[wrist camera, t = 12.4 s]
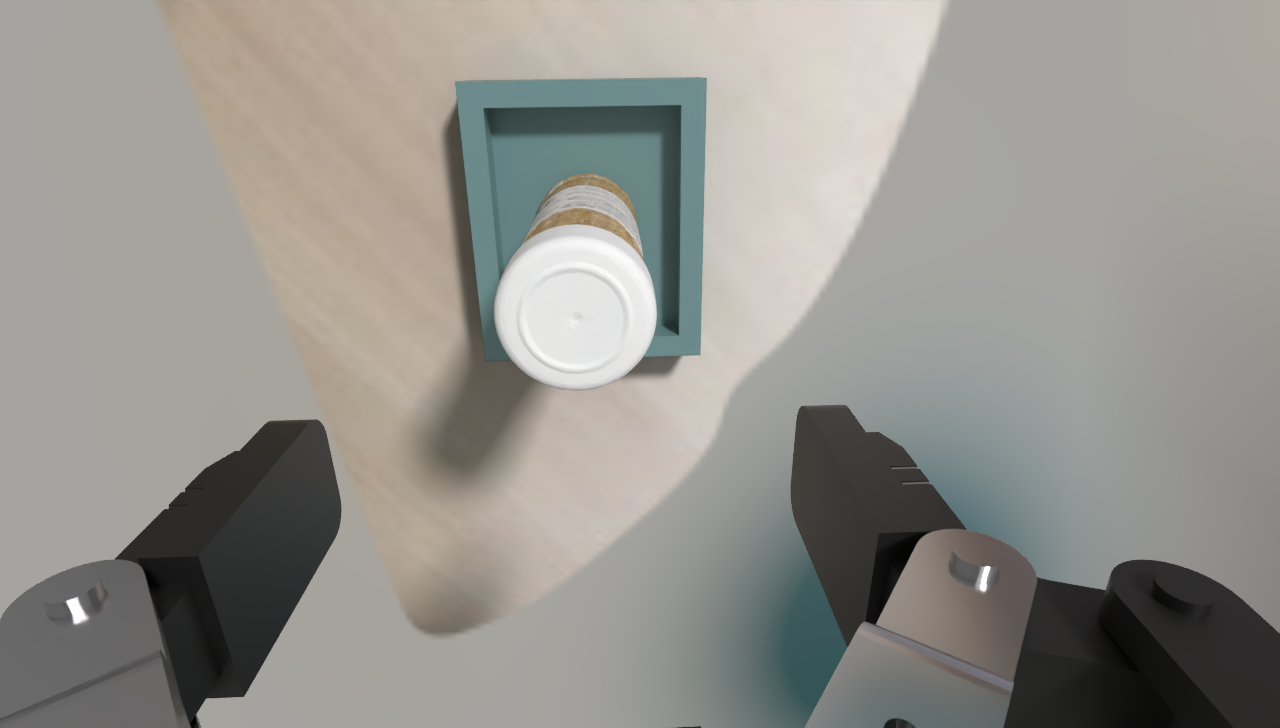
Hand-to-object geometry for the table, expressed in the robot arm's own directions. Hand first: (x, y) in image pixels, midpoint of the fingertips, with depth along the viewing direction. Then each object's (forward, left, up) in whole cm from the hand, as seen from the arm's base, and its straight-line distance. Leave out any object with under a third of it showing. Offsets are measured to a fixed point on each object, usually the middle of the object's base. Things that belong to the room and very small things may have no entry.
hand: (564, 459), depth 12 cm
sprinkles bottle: (0, 0, -21) cm, 21 cm away
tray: (0, 0, -22) cm, 22 cm away
